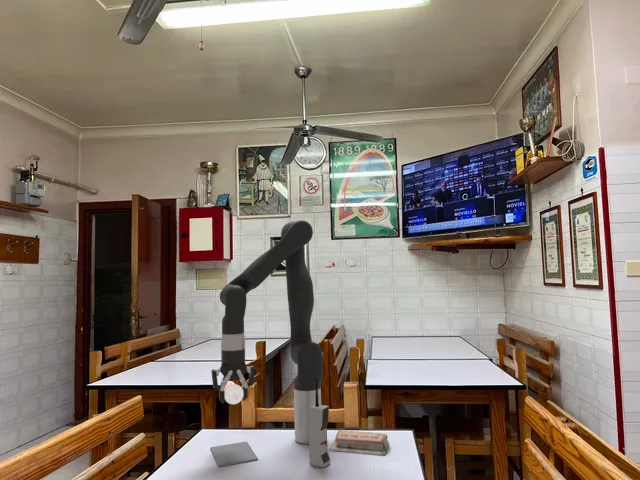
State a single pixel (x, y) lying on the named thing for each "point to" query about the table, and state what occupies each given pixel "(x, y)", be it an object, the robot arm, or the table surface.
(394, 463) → the table surface
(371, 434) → the packaged product
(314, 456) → the vintage mobile phone
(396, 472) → the table surface
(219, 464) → the mat
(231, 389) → the beverage cup
